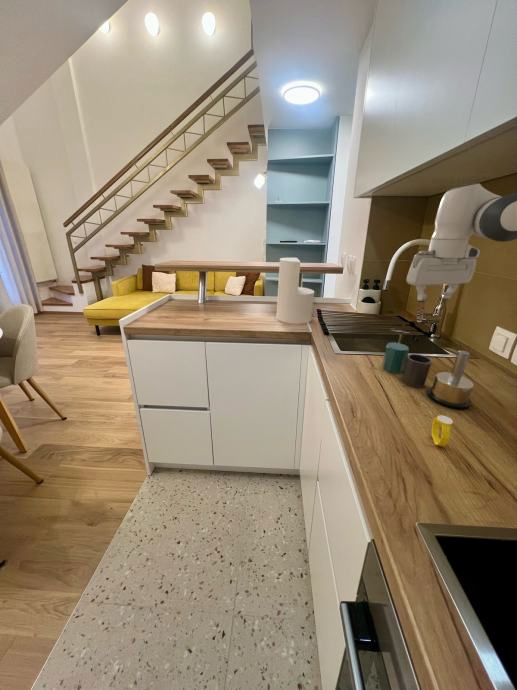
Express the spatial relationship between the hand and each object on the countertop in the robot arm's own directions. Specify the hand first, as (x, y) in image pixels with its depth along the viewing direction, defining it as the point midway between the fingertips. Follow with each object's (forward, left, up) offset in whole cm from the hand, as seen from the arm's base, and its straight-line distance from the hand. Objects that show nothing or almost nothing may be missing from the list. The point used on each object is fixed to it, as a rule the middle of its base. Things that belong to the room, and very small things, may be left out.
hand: (434, 299), depth 83 cm
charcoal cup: (+3, +11, -23) cm, 26 cm away
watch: (+5, +37, -23) cm, 44 cm away
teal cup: (+7, +3, -23) cm, 24 cm away
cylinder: (+44, -42, -23) cm, 66 cm away
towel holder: (-4, +18, -23) cm, 29 cm away
